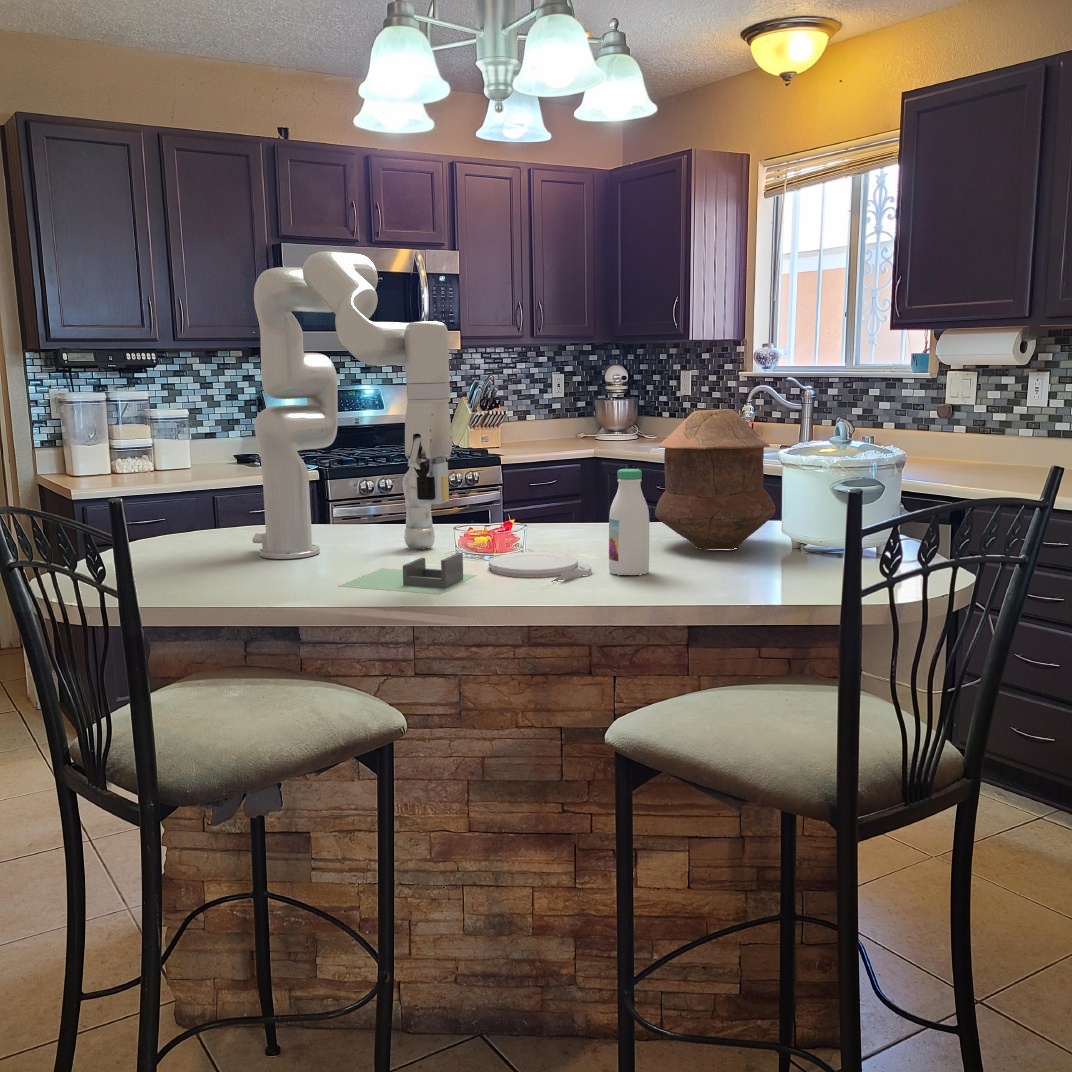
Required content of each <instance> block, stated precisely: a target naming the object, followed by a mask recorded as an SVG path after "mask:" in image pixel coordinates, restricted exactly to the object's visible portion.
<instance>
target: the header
mask: <svg viewBox="0 0 1072 1072" xmlns="http://www.w3.org/2000/svg"><path fill="white" fill-rule="evenodd" d="M463 557H464V556H463V552H456V553H454V554H453V555H450V556H448V557H446V558H444V559H441V560H440V568H441V569H437V568H427V567H426V558H425V557H420V558H417V559H415V560H413V561H410V562H408V563H405V564H403V565H402V570H403V585H407V586H420V587H433V588H448V587H450V586H452V585H454V584H456V583H458V582H460V581H462V580H463V574H464V562H463V561H464V558H463Z"/></svg>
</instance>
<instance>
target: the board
mask: <svg viewBox="0 0 1072 1072" xmlns="http://www.w3.org/2000/svg"><path fill="white" fill-rule="evenodd" d="M476 576H477V574H469V573H468V574H467V573H466V574H465V573H463V580H462V581H460V582H458V583H456V584H454V585H452V586H450V587H448V588H433V587H420V586H407V585H403V569H396V568H379V569H377V570H375V571H372V572H370V573H367V574H364V575H362V576H359V577H357V578H355V579H352V580H350V581H348V582H347V581H346V582H345V583H343V584H340V585H338V586H337V587H341V588H352V589H353V588H355V589H366V590H376V591H377V590H378V591H388V592H390V591H393V592H401V593H404V592H405V593H415V594H429V595H441V594H443V593H445V592H447V591H449V590H451V589H453V588H455V587H457V586H459V585H461V584H462V583H465V582H467V581H469V580H470V579H472V578H474V577H476Z"/></svg>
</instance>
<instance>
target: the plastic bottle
mask: <svg viewBox="0 0 1072 1072" xmlns="http://www.w3.org/2000/svg"><path fill="white" fill-rule="evenodd" d="M407 459H408V458H407ZM407 462H408V463H407V467H409V469H408V470H407V472H405V475H404V476H403V479H402V483H401V484H402V490H403V497H404V502H405V511H406V513H405V514H406V515H405V516H406V517H405V529H404V537H403V538H404V544H405V545H406V547H407V548H411V549H415V550H424V549H428V548H429V549H430V548H431V547H433V546H434V544H435V539H436V536H435V529H434V527H433V526H434V525H433V518H432V504H418V503H416V482H415V469H414V467H413V466H412V464H411V463H410V459H408V461H407Z"/></svg>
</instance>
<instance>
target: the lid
mask: <svg viewBox="0 0 1072 1072" xmlns="http://www.w3.org/2000/svg"><path fill="white" fill-rule="evenodd" d="M488 567H489V568H490V571H492V572H493V573H495V574H498V575H500V576H506V577H514V578H515V577H516V578H545V577H546V578H548V577H555V579H553V580H552V581H551V582H553V581H558V580H564V579H568V578H571V577H576V578H579V577H578V576H583V575H589V574H590V573H591V574H592V566H591V565H590V564H587V563H585V562H580V561H578V559H577V557H574V556H572V555H570V554H564V553H559V552H546V551H544V552H543V551H525V552H523V551H521V552H512V553H506V554H505V553H504V554H500V555H497V556H494V557H492V558H490V559H489V561H488ZM591 574H590V575H591ZM590 575H589V576H590ZM556 577H557V578H556ZM571 579H572V578H571ZM568 580H569V579H568ZM564 581H565V580H564ZM553 583H554V582H553Z"/></svg>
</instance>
